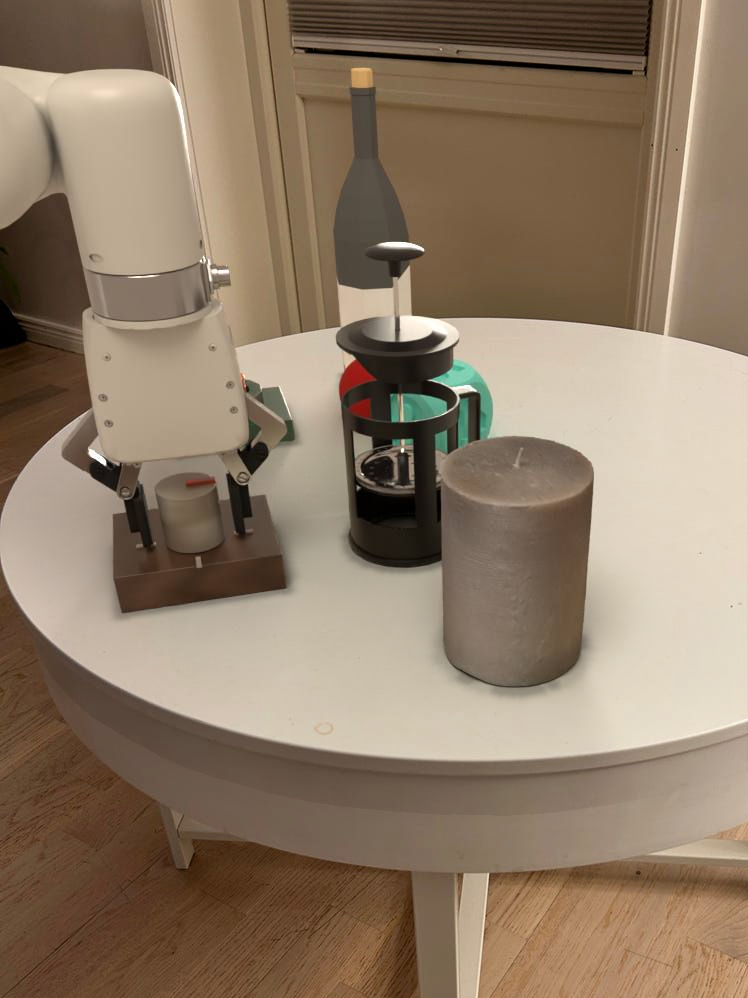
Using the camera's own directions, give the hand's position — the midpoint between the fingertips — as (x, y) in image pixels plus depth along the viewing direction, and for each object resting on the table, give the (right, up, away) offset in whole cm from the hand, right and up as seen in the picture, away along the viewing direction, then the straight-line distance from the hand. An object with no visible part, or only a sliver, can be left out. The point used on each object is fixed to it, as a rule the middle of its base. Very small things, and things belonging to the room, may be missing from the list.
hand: (193, 530), depth 75 cm
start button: (-3, +16, +22) cm, 27 cm away
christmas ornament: (+11, +13, +25) cm, 31 cm away
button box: (-3, +13, +24) cm, 28 cm away
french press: (+16, 0, +7) cm, 17 cm away
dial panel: (0, -3, +3) cm, 4 cm away
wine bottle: (+10, +21, +36) cm, 43 cm away
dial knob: (0, -1, 0) cm, 1 cm away
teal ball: (+17, +9, +20) cm, 28 cm away
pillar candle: (+24, -9, -5) cm, 26 cm away
